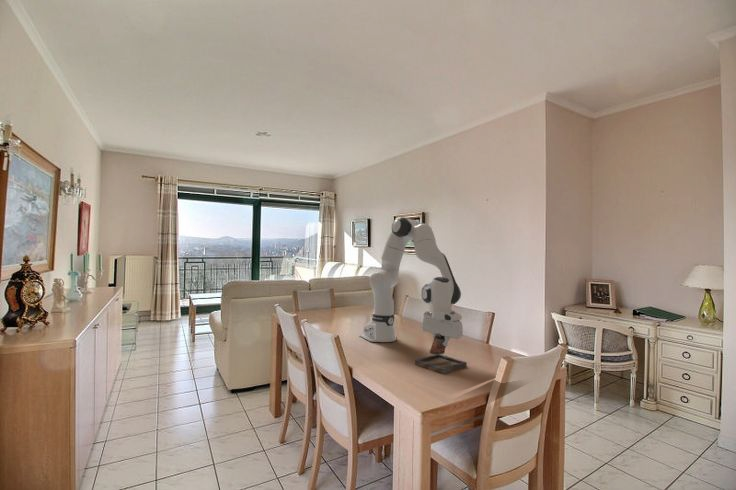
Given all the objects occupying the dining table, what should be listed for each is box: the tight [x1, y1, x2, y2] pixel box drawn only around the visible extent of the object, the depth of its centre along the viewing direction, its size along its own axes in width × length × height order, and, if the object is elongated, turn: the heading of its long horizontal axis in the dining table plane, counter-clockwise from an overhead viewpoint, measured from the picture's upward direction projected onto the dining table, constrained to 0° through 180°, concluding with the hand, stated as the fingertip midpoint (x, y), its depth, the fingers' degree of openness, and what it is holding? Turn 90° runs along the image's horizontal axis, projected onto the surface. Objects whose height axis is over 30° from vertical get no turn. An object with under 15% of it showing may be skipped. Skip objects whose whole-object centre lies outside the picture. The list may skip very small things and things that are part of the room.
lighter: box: [429, 333, 447, 355], centre depth 158 cm, size 8×3×10 cm, turn 121°
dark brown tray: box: [414, 354, 467, 375], centre depth 157 cm, size 16×16×2 cm
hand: (441, 344), depth 157 cm, fingers closed on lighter, 3 cm apart
